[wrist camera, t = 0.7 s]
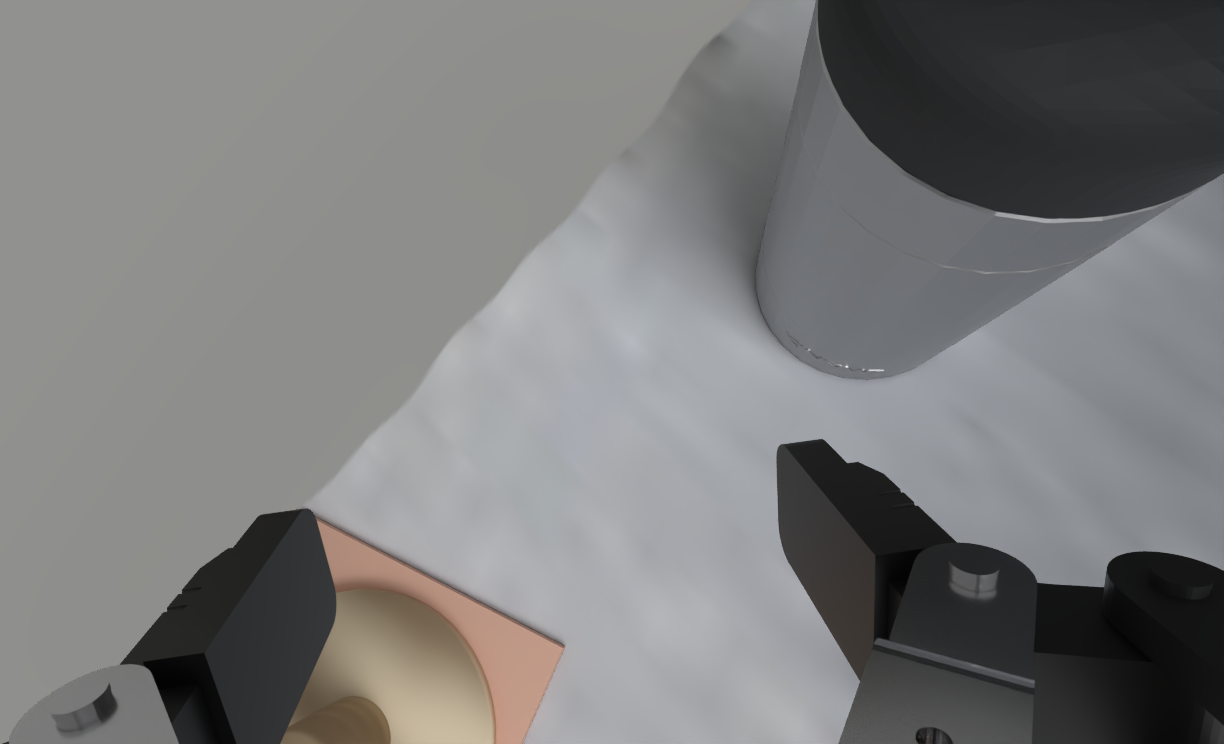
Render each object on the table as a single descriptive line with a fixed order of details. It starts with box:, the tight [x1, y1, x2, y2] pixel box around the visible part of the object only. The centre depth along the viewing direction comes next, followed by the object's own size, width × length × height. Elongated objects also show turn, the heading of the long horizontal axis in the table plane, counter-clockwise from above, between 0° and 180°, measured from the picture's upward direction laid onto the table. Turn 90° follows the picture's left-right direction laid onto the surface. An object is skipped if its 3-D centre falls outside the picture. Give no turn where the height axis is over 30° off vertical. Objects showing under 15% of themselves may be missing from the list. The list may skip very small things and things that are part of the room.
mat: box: [296, 509, 565, 744], centre depth 30 cm, size 13×14×1 cm
